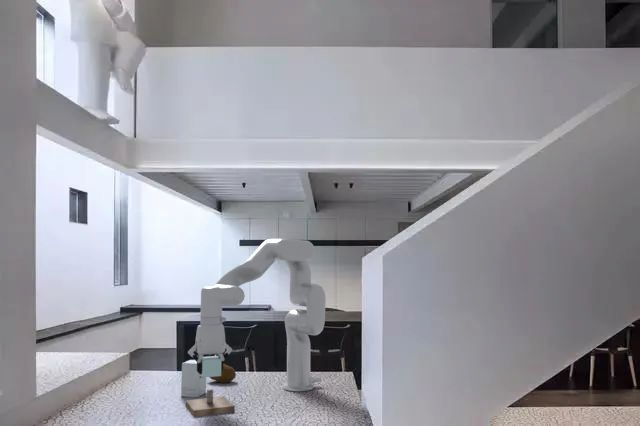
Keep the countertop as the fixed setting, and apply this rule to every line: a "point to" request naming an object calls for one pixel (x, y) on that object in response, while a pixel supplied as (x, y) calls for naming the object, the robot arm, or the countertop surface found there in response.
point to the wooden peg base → (209, 405)
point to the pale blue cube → (211, 366)
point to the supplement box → (192, 380)
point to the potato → (225, 375)
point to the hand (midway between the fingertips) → (209, 372)
